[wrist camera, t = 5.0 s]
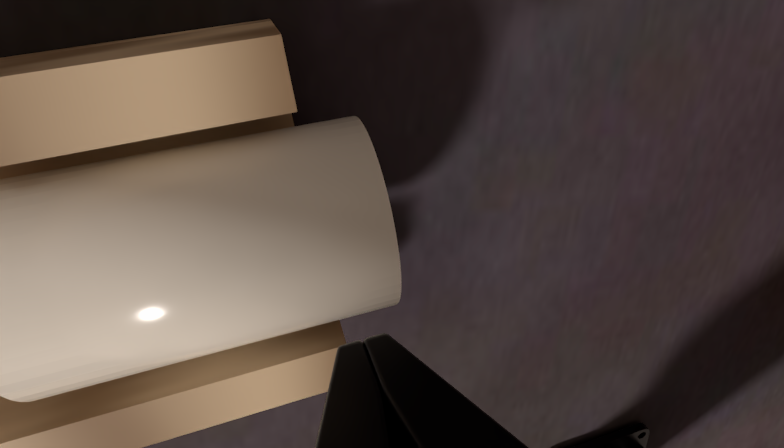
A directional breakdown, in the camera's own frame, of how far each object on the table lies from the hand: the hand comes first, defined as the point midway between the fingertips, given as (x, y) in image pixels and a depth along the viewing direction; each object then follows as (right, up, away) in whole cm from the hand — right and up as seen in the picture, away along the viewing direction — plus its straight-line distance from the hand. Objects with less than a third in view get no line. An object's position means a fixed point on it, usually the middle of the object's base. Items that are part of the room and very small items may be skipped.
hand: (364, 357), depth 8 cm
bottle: (0, +3, +4) cm, 5 cm away
